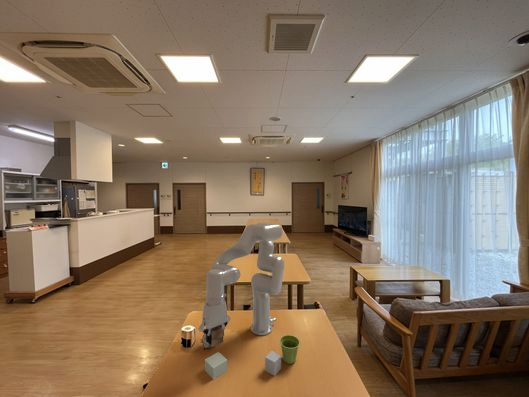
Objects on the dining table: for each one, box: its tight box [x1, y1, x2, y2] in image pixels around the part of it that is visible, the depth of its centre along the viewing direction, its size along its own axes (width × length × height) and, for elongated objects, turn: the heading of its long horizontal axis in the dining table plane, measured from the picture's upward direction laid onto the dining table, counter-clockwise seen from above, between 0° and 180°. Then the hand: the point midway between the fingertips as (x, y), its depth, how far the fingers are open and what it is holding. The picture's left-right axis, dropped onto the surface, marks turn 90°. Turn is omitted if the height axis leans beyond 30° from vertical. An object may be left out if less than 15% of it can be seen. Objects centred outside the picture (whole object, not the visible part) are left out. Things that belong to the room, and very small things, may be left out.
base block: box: [204, 351, 228, 381], centre depth 101 cm, size 7×7×5 cm
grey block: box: [264, 350, 282, 376], centre depth 102 cm, size 5×5×6 cm
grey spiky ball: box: [200, 333, 216, 351], centre depth 116 cm, size 9×8×10 cm
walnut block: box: [210, 325, 224, 348], centre depth 100 cm, size 5×5×6 cm
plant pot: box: [279, 334, 301, 365], centre depth 108 cm, size 9×9×9 cm
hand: (215, 340), depth 100 cm, fingers closed on walnut block, 5 cm apart
